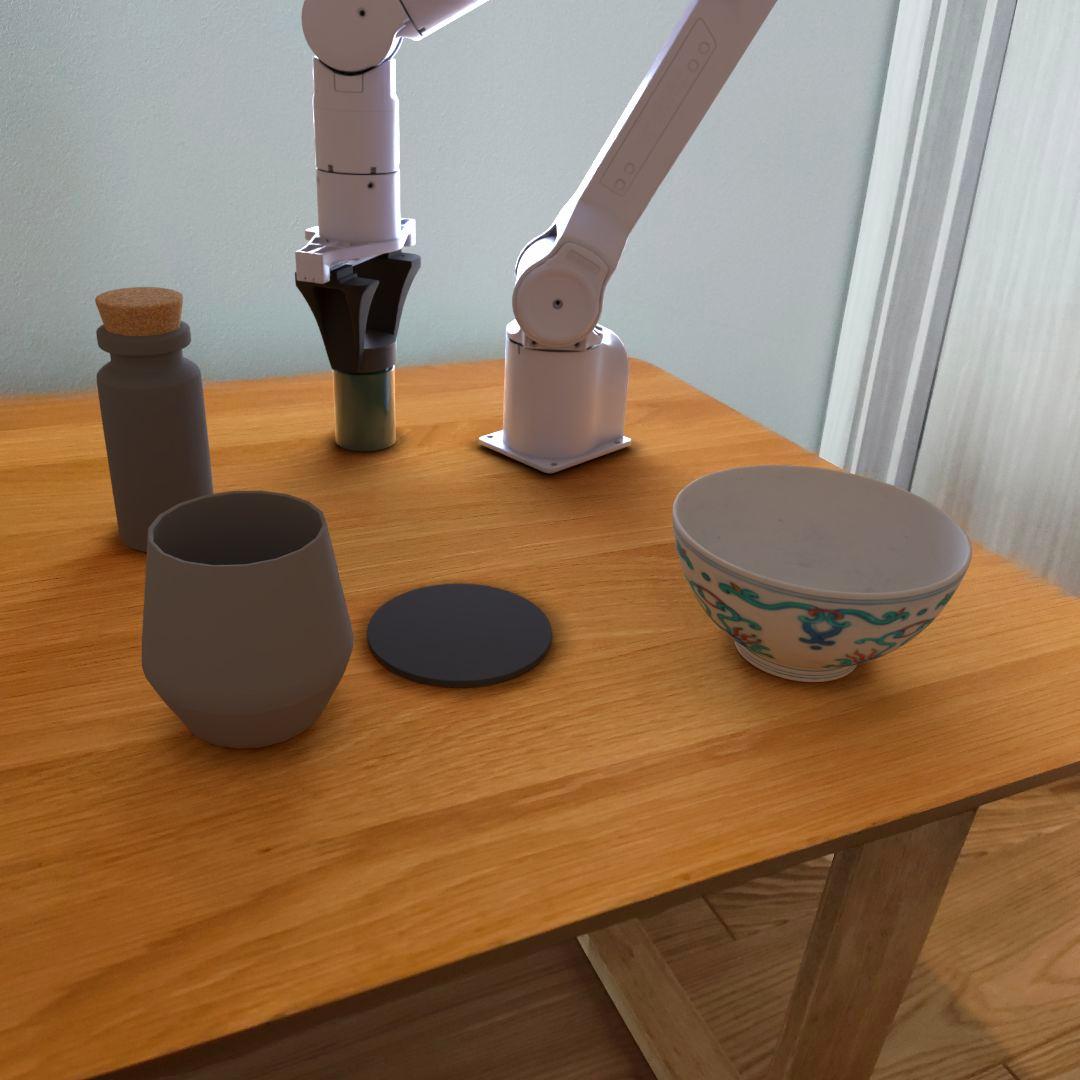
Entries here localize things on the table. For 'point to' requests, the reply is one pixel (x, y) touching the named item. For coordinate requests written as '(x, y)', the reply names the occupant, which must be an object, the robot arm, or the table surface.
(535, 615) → the coaster
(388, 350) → the cap
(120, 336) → the bottle
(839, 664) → the chinaware
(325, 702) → the cup
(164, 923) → the table surface
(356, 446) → the spice jar
